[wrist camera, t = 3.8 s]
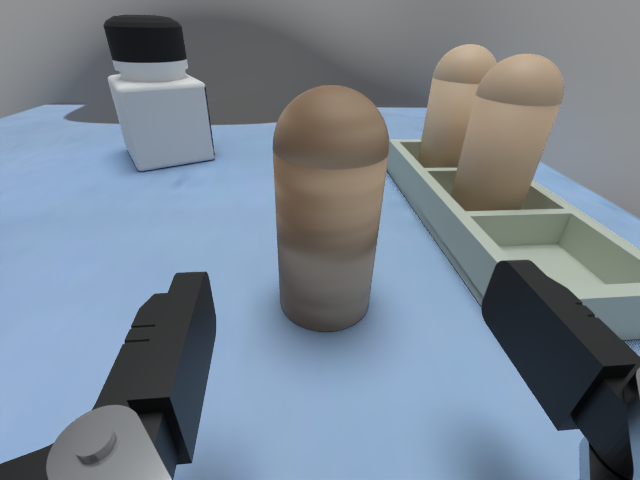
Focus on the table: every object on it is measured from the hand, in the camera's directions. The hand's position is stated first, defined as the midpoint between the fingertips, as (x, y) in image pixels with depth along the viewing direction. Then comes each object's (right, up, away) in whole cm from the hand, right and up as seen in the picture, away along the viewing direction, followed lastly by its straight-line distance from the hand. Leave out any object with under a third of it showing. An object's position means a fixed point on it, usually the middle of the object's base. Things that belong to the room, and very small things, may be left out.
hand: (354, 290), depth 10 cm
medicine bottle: (-16, +10, +26) cm, 32 cm away
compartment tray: (+10, +3, +16) cm, 19 cm away
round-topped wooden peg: (-1, -2, +9) cm, 9 cm away
